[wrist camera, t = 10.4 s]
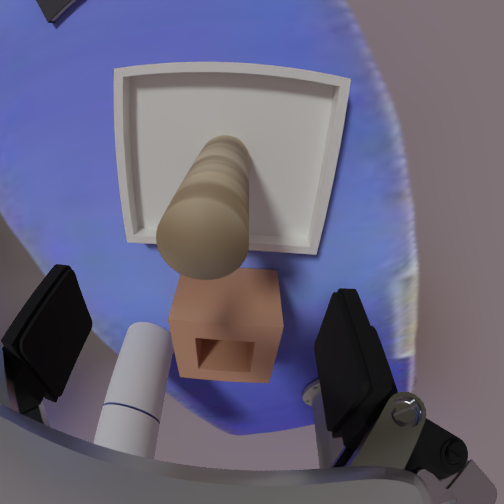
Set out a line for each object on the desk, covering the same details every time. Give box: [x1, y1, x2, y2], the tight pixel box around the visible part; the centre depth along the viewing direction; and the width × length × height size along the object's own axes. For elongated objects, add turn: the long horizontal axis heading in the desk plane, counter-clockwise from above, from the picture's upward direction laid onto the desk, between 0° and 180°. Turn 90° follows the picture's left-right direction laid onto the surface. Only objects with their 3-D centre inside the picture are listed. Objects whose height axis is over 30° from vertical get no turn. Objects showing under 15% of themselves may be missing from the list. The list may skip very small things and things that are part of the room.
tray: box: [114, 62, 351, 255], centre depth 22 cm, size 16×18×2 cm
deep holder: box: [168, 268, 284, 383], centre depth 30 cm, size 10×10×8 cm
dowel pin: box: [156, 135, 249, 280], centre depth 17 cm, size 4×4×13 cm
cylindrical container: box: [93, 322, 174, 459], centre depth 27 cm, size 7×7×25 cm
